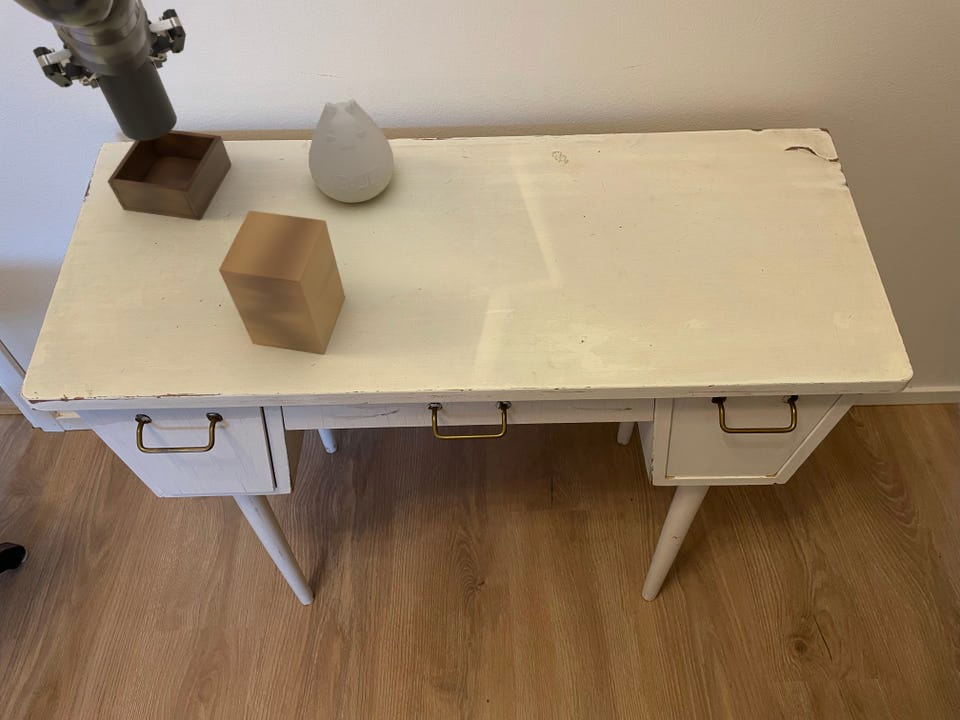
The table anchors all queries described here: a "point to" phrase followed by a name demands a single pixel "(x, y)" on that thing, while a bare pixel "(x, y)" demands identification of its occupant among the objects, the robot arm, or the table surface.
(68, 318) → the table surface
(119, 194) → the bin
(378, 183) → the toy character
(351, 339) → the table surface
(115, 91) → the ball tube
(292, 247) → the stand
